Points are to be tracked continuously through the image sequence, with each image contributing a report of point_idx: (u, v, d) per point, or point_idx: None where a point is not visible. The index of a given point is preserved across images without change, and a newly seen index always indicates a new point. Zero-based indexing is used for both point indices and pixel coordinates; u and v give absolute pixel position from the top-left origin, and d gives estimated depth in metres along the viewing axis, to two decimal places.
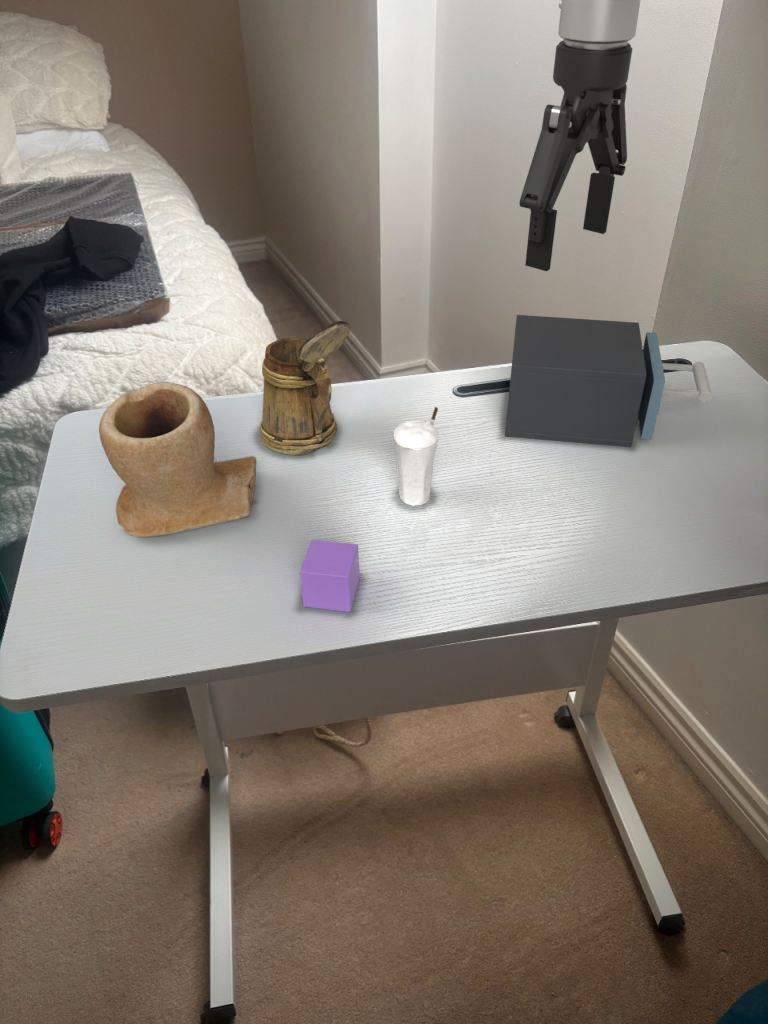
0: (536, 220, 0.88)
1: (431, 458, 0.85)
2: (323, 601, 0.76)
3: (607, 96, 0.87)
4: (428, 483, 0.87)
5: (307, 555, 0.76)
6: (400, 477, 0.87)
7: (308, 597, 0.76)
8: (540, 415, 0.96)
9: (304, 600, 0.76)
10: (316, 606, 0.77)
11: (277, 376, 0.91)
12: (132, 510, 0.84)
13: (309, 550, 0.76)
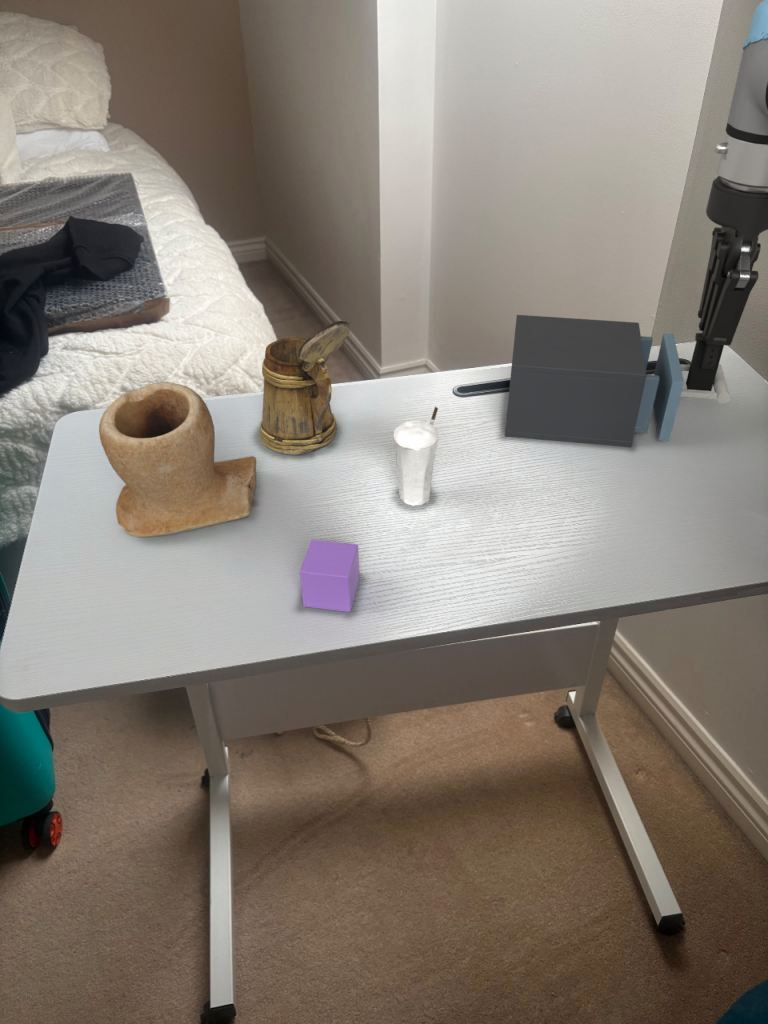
0: (712, 351, 0.92)
1: (431, 458, 0.85)
2: (323, 601, 0.76)
3: None
4: (428, 483, 0.87)
5: (307, 555, 0.76)
6: (400, 477, 0.87)
7: (308, 597, 0.76)
8: (540, 415, 0.96)
9: (304, 600, 0.76)
10: (316, 606, 0.77)
11: (277, 376, 0.91)
12: (132, 510, 0.84)
13: (309, 550, 0.76)
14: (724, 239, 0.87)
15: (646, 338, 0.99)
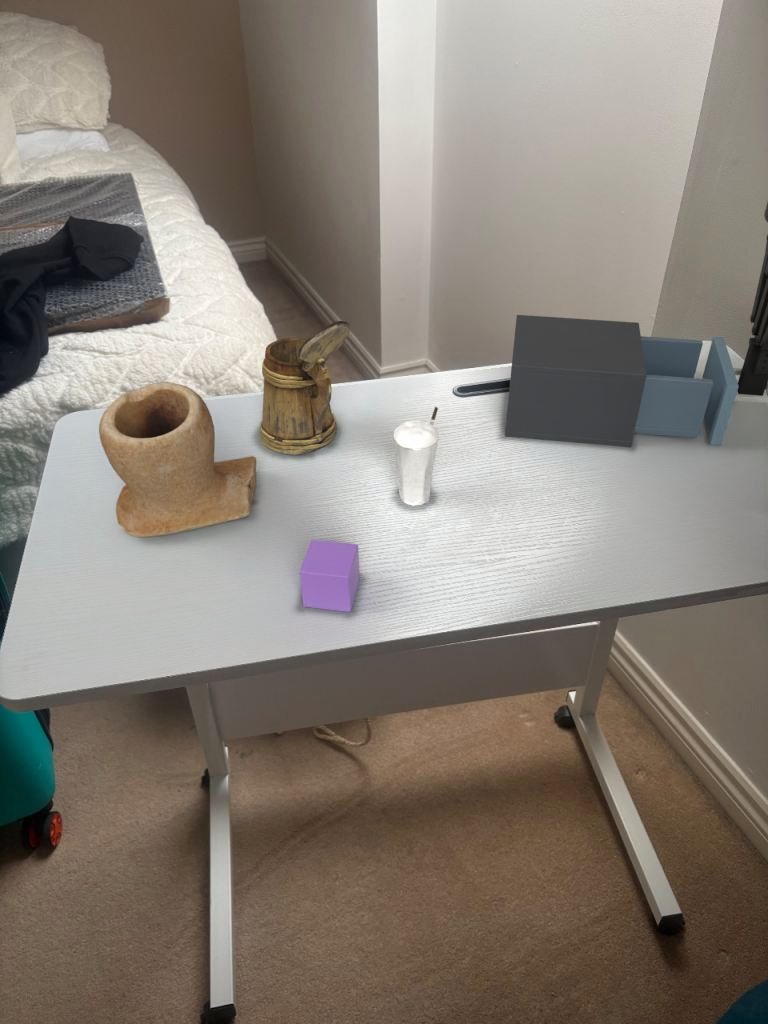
0: (766, 356, 0.91)
1: (431, 458, 0.85)
2: (323, 601, 0.76)
3: None
4: (428, 483, 0.87)
5: (307, 555, 0.76)
6: (400, 477, 0.87)
7: (308, 597, 0.76)
8: (540, 415, 0.96)
9: (304, 600, 0.76)
10: (316, 606, 0.77)
11: (277, 376, 0.91)
12: (132, 510, 0.84)
13: (309, 550, 0.76)
14: None
15: (696, 341, 0.98)
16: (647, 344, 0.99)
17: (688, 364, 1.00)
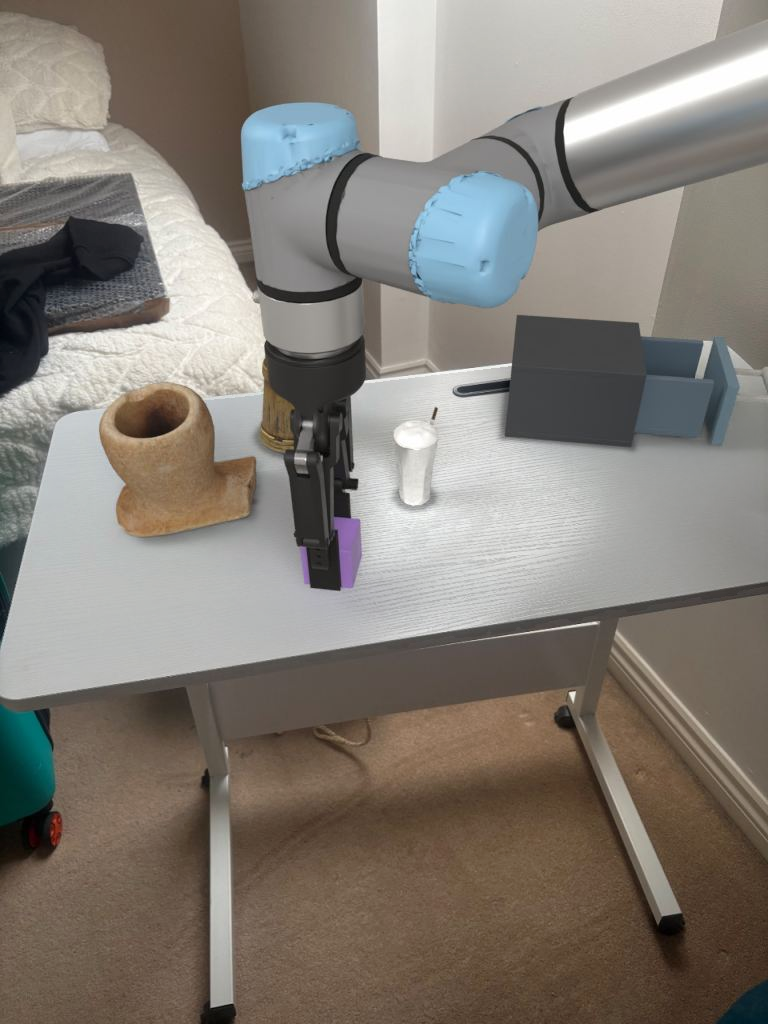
0: (318, 549, 0.70)
1: (431, 458, 0.85)
2: None
3: None
4: (428, 483, 0.87)
5: None
6: (400, 477, 0.87)
7: None
8: (540, 415, 0.96)
9: (305, 577, 0.74)
10: None
11: None
12: (132, 510, 0.84)
13: None
14: None
15: (697, 341, 0.98)
16: (648, 344, 0.99)
17: (689, 364, 1.00)
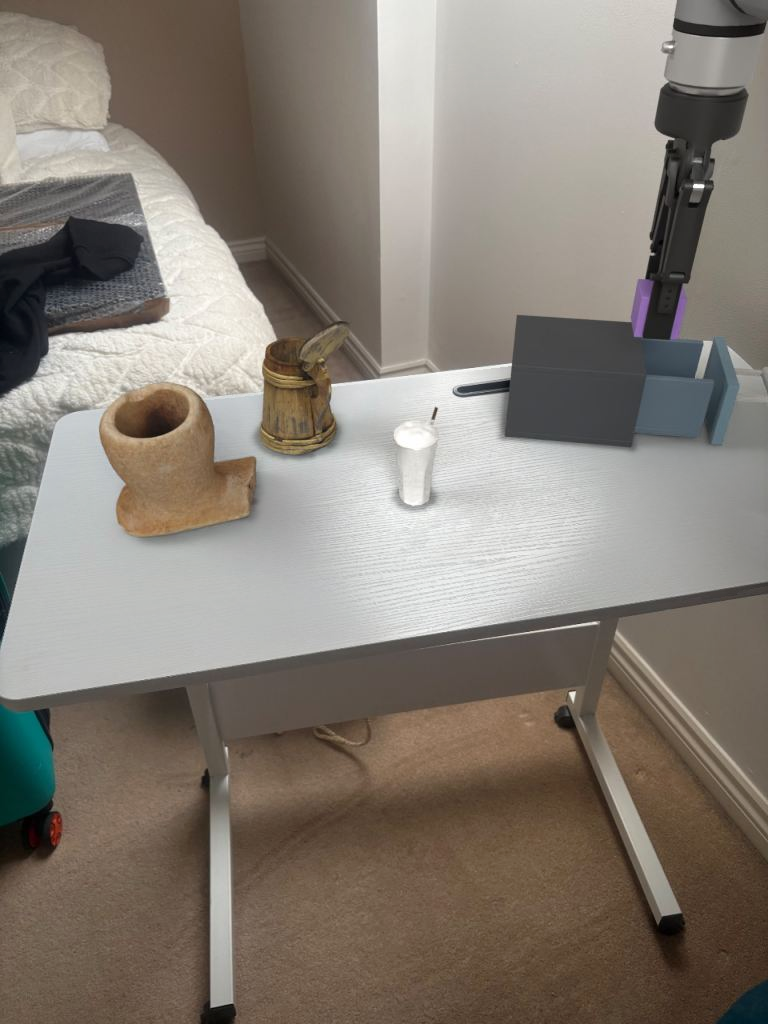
0: (668, 292, 0.81)
1: (431, 458, 0.85)
2: None
3: None
4: (428, 483, 0.87)
5: (641, 287, 0.86)
6: (400, 477, 0.87)
7: (642, 325, 0.86)
8: (540, 415, 0.96)
9: (637, 329, 0.86)
10: None
11: (277, 376, 0.91)
12: (132, 510, 0.84)
13: (641, 285, 0.86)
14: None
15: (697, 341, 0.98)
16: (648, 344, 0.99)
17: (689, 364, 1.00)
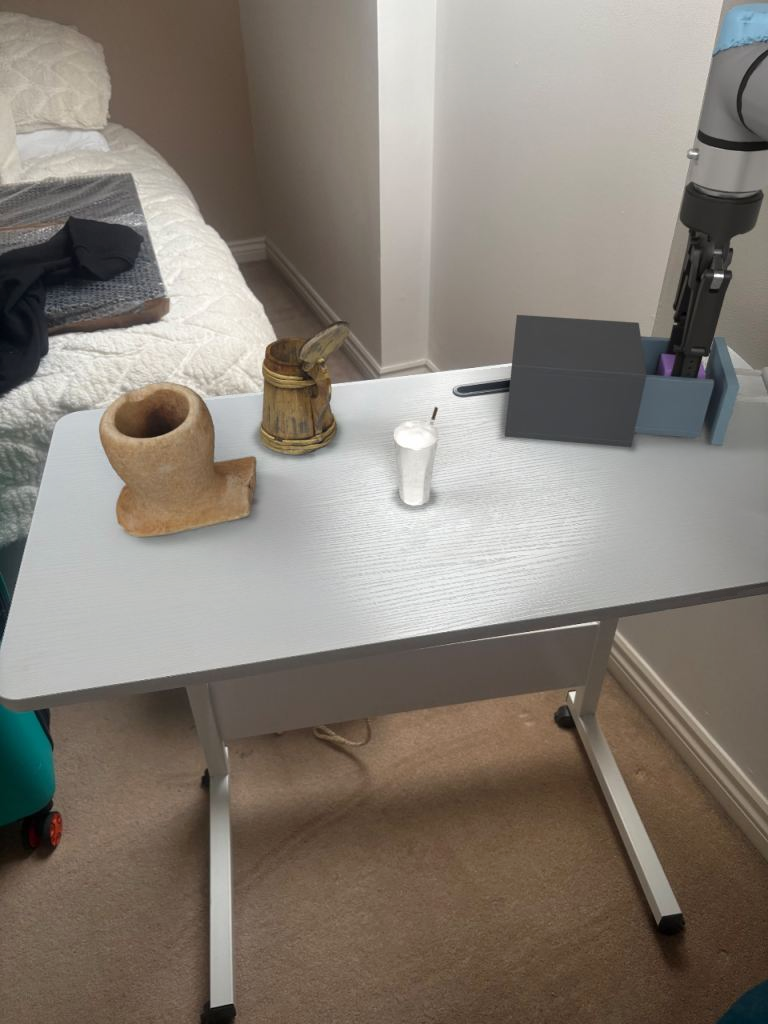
0: (690, 362, 0.91)
1: (431, 458, 0.85)
2: None
3: None
4: (428, 483, 0.87)
5: (665, 361, 0.96)
6: (400, 477, 0.87)
7: None
8: (540, 415, 0.96)
9: None
10: None
11: (277, 376, 0.91)
12: (132, 510, 0.84)
13: (664, 359, 0.96)
14: (697, 245, 0.87)
15: None
16: (648, 344, 0.99)
17: None
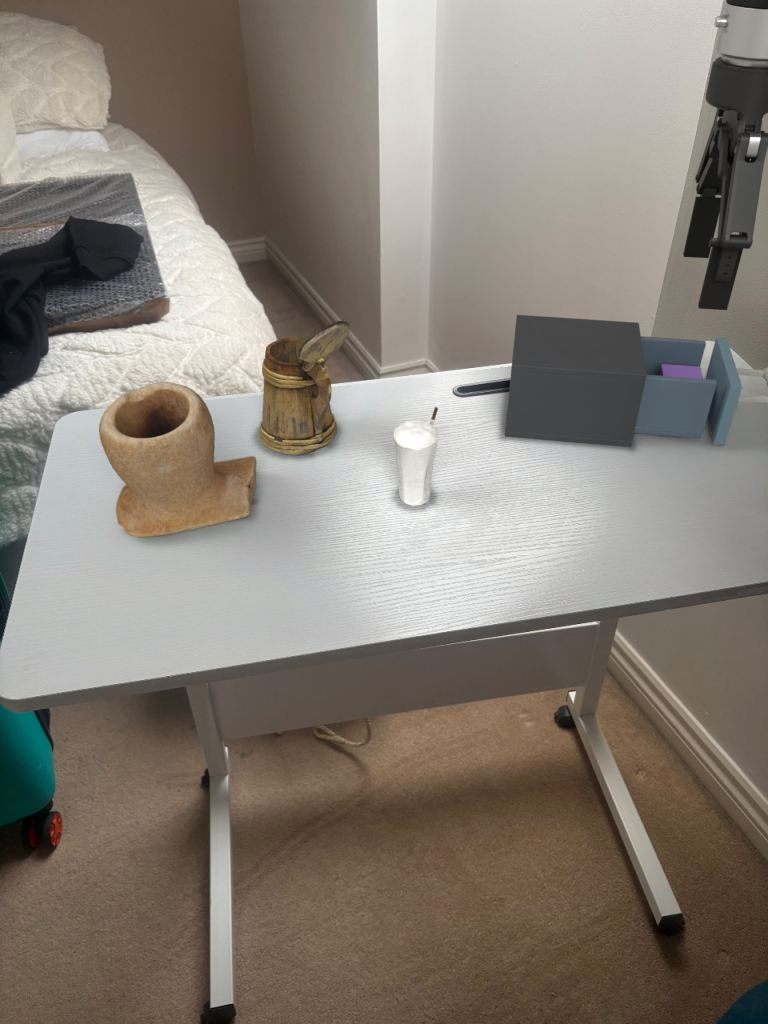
0: (728, 258, 0.79)
1: (431, 458, 0.85)
2: None
3: None
4: (428, 483, 0.87)
5: (664, 373, 0.97)
6: (400, 477, 0.87)
7: None
8: (540, 415, 0.96)
9: None
10: None
11: (277, 376, 0.91)
12: (132, 510, 0.84)
13: (664, 370, 0.97)
14: None
15: (699, 342, 0.98)
16: (650, 344, 0.99)
17: (691, 364, 1.00)
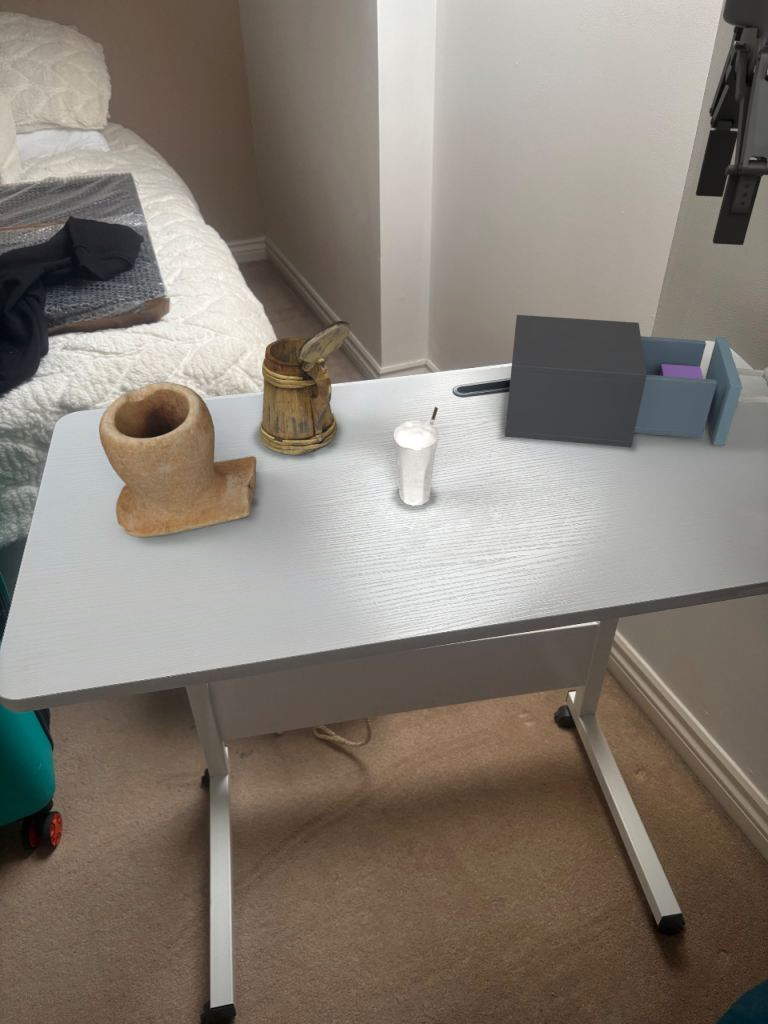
0: (745, 187, 0.75)
1: (431, 458, 0.85)
2: None
3: None
4: (428, 483, 0.87)
5: (664, 373, 0.97)
6: (400, 477, 0.87)
7: None
8: (540, 415, 0.96)
9: None
10: None
11: (277, 376, 0.91)
12: (132, 510, 0.84)
13: (664, 370, 0.97)
14: None
15: (699, 342, 0.98)
16: (650, 344, 0.99)
17: (691, 364, 1.00)
